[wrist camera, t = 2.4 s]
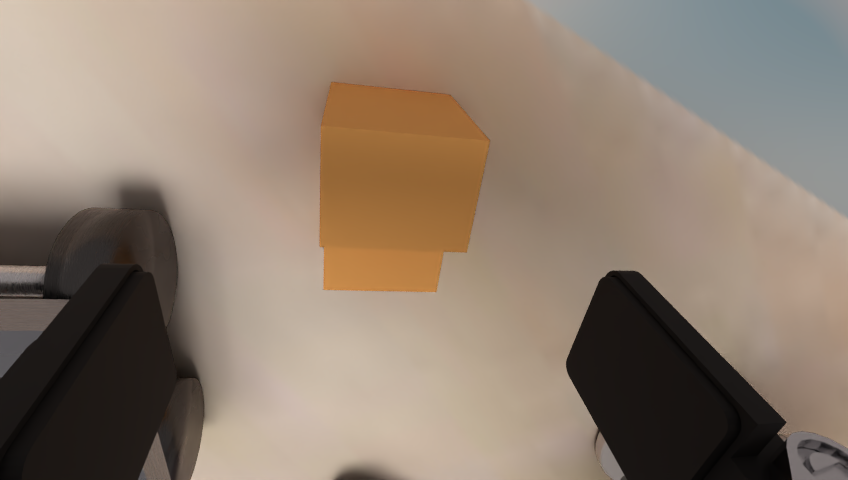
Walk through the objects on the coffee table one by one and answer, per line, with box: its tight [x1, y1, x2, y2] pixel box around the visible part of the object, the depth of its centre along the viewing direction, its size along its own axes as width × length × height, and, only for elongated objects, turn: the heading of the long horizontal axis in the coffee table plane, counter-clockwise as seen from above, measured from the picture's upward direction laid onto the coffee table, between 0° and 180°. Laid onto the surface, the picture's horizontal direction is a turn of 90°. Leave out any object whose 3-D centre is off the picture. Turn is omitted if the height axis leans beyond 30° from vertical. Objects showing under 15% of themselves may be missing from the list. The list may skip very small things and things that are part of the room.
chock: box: [320, 82, 490, 292], centre depth 17 cm, size 5×8×6 cm, turn 173°
